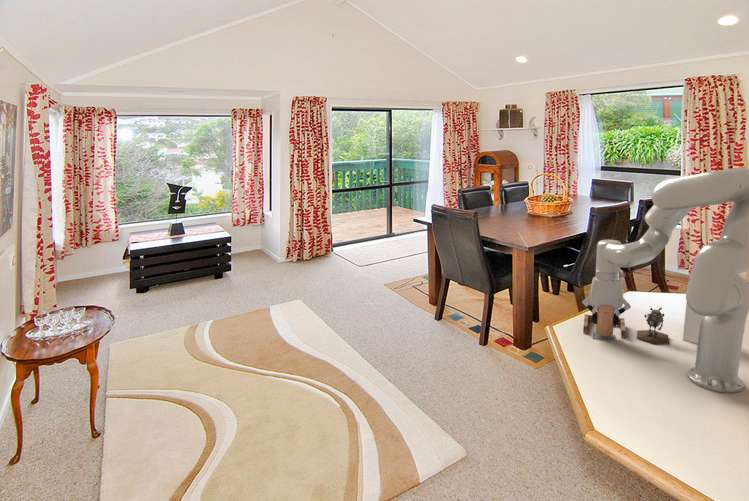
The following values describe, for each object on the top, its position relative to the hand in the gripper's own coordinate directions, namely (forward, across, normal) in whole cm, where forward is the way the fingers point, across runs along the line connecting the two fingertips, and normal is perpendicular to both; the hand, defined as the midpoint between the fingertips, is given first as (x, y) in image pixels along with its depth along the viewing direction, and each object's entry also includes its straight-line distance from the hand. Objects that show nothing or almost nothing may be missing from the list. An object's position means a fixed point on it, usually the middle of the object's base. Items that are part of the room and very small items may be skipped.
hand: (604, 323), depth 152 cm
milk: (+6, -28, -8) cm, 30 cm away
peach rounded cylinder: (+3, 0, +1) cm, 4 cm away
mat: (+5, 0, 0) cm, 5 cm away
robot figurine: (+6, -15, -5) cm, 17 cm away
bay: (+5, 0, -7) cm, 9 cm away
